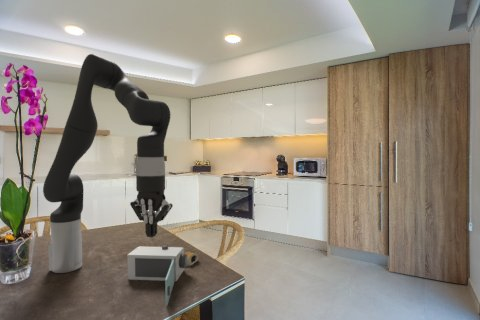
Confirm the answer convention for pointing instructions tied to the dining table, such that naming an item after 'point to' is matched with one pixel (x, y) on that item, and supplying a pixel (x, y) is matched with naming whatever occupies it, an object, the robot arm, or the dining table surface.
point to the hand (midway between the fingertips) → (151, 236)
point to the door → (170, 280)
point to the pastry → (191, 258)
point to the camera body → (155, 262)
